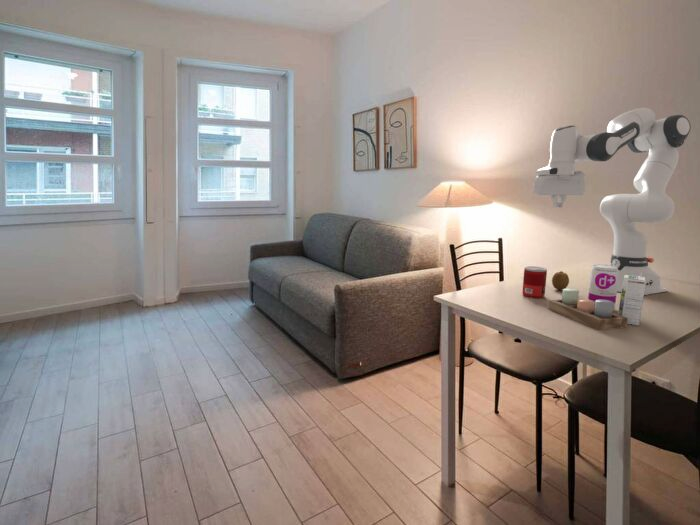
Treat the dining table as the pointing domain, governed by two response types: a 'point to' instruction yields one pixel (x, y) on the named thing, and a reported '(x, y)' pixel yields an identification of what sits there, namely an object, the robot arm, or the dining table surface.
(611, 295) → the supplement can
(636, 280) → the syrup box
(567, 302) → the sage button
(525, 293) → the canned food
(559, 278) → the fruit
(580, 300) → the pink rounded cylinder
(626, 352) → the dining table surface
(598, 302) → the grey button
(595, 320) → the wooden tray
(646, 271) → the robot arm
